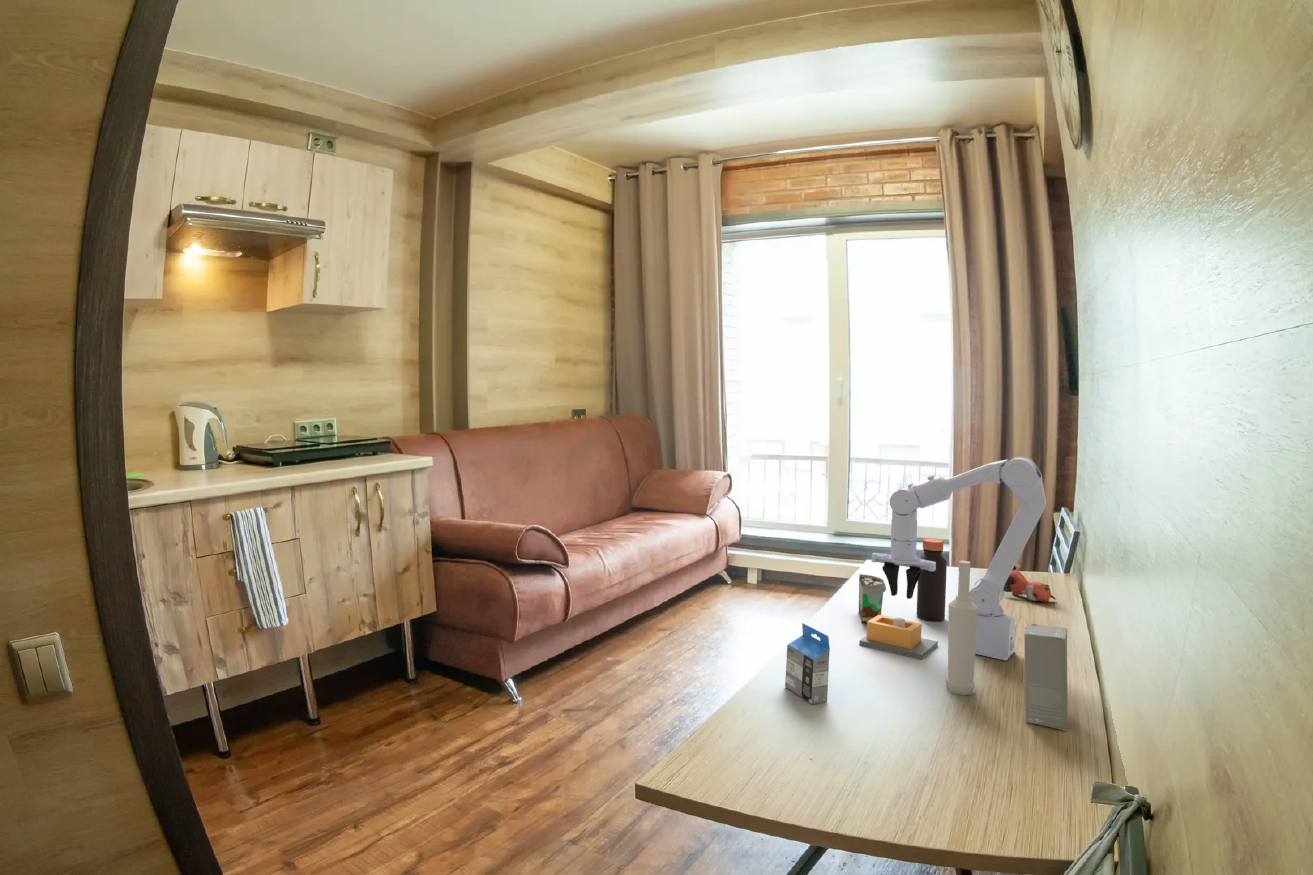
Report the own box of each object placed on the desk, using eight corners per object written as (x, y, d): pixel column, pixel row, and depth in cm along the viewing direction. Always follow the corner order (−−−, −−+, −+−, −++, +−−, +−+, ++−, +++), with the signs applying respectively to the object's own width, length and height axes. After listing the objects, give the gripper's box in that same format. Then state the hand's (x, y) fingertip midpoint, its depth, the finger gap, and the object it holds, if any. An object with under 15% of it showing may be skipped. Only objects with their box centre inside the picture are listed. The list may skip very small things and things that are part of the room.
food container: (888, 627, 174) (889, 587, 173) (862, 625, 175) (863, 585, 174) (882, 612, 186) (883, 575, 185) (858, 610, 187) (859, 573, 186)
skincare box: (1066, 732, 119) (1070, 640, 119) (1019, 721, 123) (1023, 632, 122) (1068, 713, 127) (1072, 626, 126) (1023, 704, 130) (1027, 619, 130)
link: (921, 640, 161) (921, 623, 161) (910, 648, 156) (911, 631, 156) (878, 631, 168) (878, 614, 167) (866, 638, 162) (867, 621, 162)
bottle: (973, 686, 138) (978, 560, 137) (976, 697, 133) (981, 566, 132) (944, 682, 140) (949, 557, 138) (946, 693, 135) (950, 563, 134)
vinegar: (916, 619, 180) (918, 541, 179) (916, 612, 186) (919, 536, 185) (944, 622, 178) (947, 544, 176) (944, 615, 184) (947, 539, 183)
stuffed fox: (1016, 567, 210) (1061, 572, 201) (1009, 602, 205) (1054, 609, 197) (1007, 556, 205) (1053, 560, 196) (1000, 592, 201) (1046, 598, 192)
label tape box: (784, 686, 137) (785, 624, 136) (801, 683, 139) (803, 622, 138) (811, 705, 129) (812, 639, 128) (829, 701, 131) (831, 636, 130)
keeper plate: (937, 645, 161) (938, 619, 161) (921, 659, 152) (922, 631, 152) (877, 632, 170) (878, 607, 169) (859, 644, 161) (860, 618, 161)
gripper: (867, 537, 168) (865, 594, 169) (929, 546, 159) (927, 605, 160) (878, 533, 173) (876, 588, 174) (939, 541, 164) (937, 599, 165)
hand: (901, 596), depth 167 cm, fingers open, 3 cm apart
